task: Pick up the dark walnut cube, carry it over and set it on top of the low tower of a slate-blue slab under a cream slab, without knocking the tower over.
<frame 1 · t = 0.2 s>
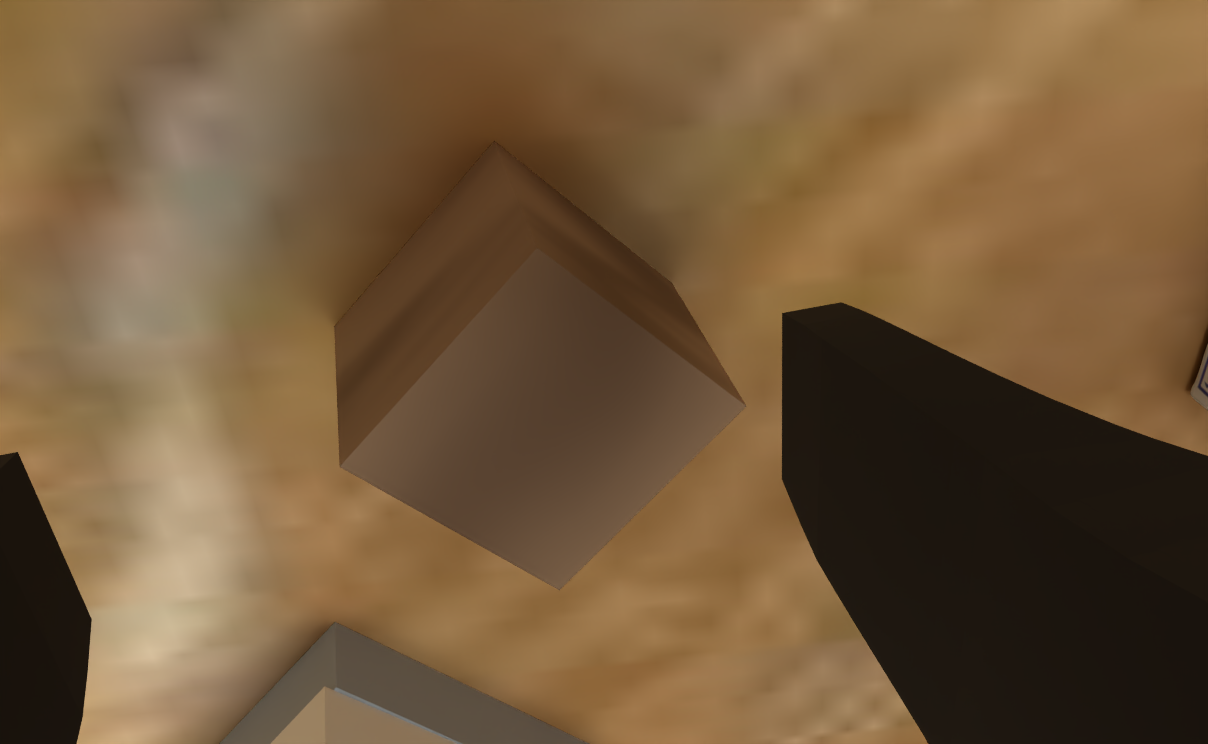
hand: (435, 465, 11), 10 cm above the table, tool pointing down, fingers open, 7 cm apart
walnut cube: (506, 302, 21), on the table
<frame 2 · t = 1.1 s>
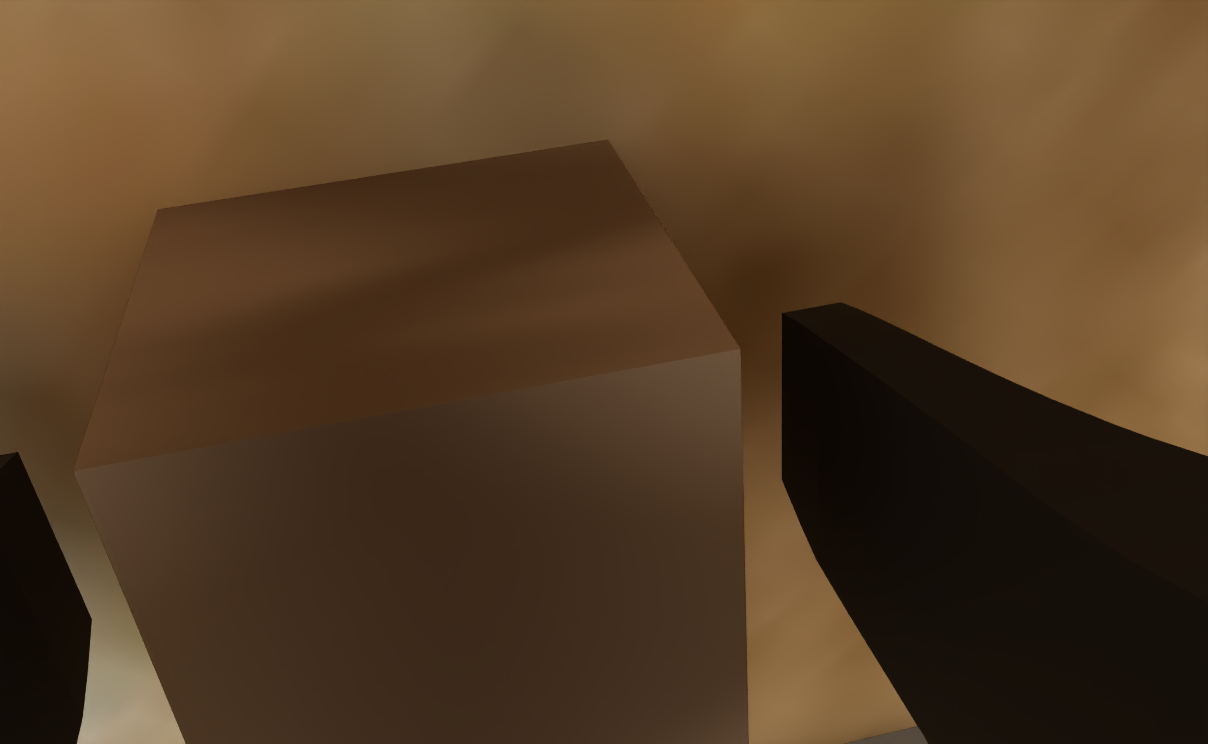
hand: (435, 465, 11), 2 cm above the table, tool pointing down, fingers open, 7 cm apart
walnut cube: (425, 360, 13), on the table
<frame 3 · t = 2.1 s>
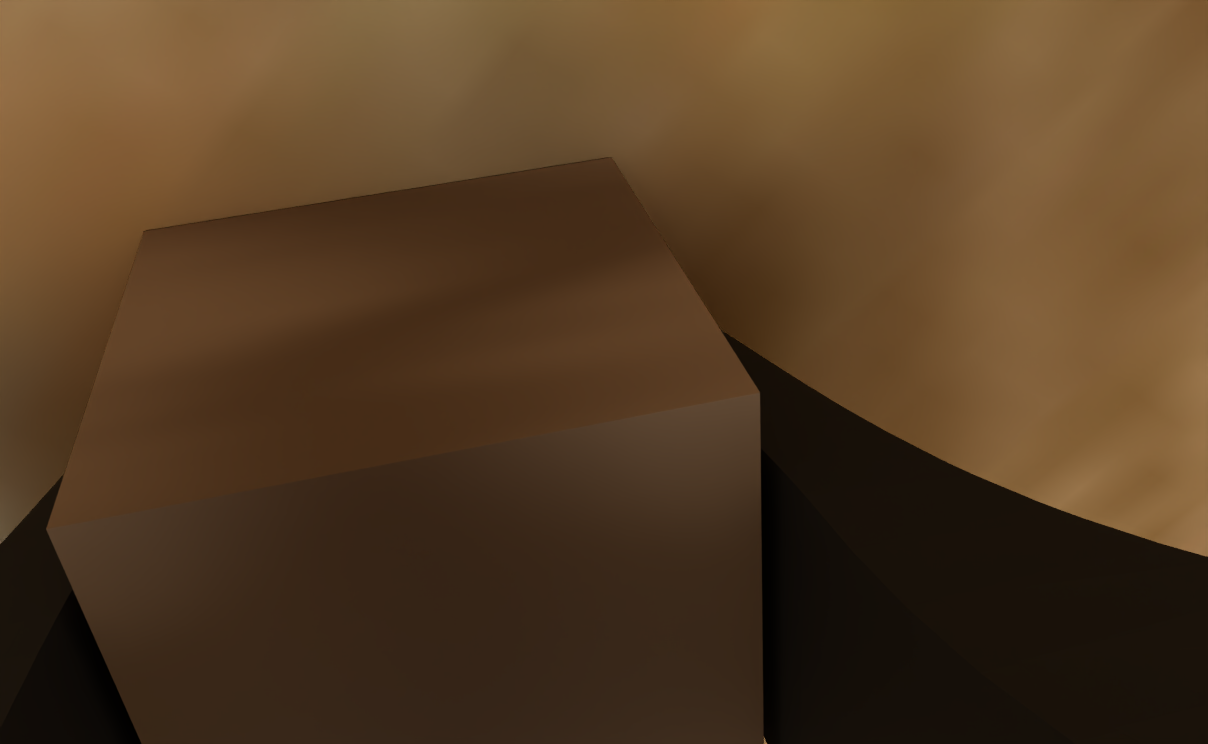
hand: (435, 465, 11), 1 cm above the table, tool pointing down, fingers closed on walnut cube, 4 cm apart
walnut cube: (423, 388, 12), on the table, touching gripper
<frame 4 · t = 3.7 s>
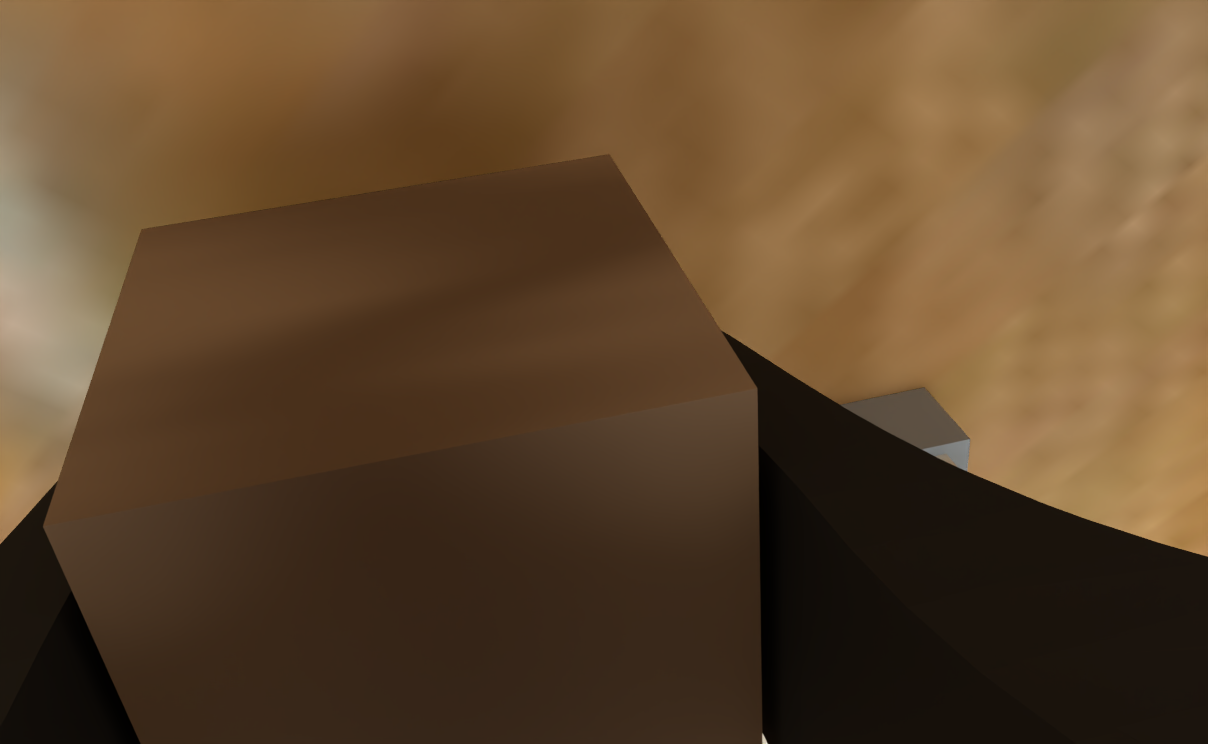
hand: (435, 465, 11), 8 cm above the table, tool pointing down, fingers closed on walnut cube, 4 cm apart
tower base block: (733, 594, 25), on the table, touching tower top block
walnut cube: (421, 386, 12), point 7 cm above the table, touching gripper
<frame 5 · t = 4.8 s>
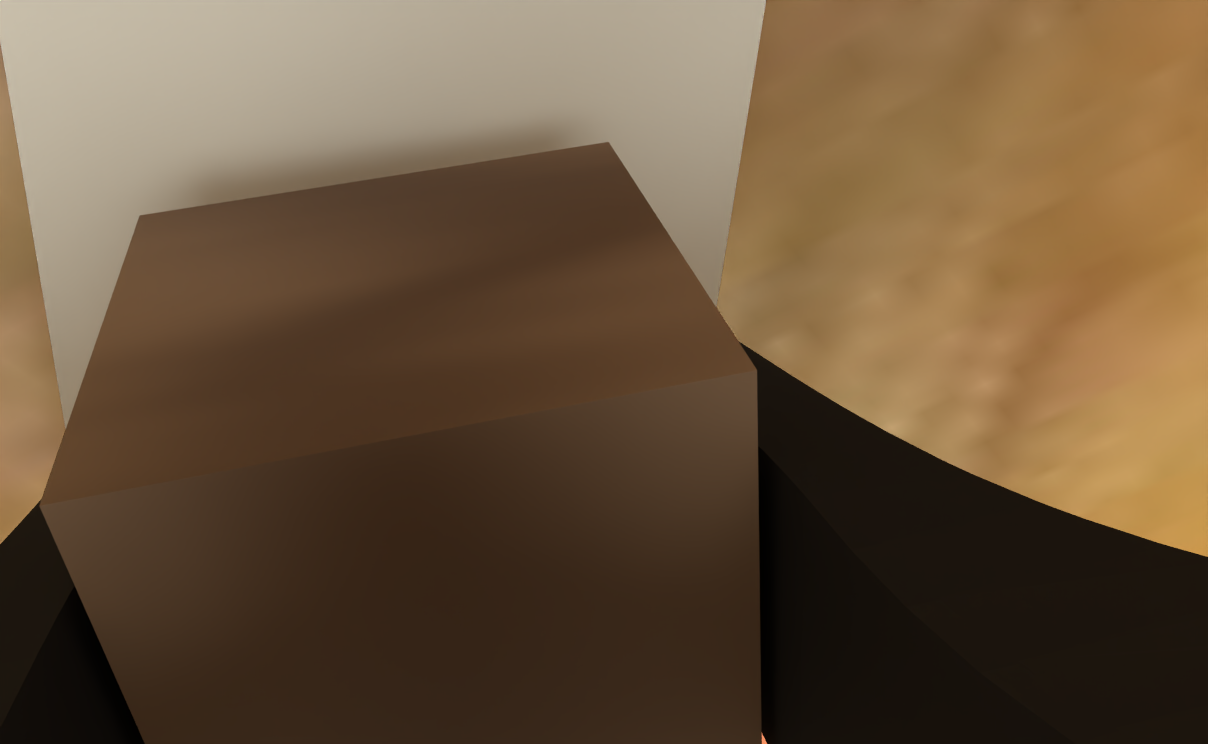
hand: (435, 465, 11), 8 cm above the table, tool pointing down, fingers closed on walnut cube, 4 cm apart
tower top block: (393, 248, 16), point 2 cm above the table, touching tower base block
walnut cube: (420, 375, 12), point 6 cm above the table, touching gripper
when the fingers open (7 cm above the table, at t = 5.7 s): walnut cube drops 2 cm, point 4 cm above the table.
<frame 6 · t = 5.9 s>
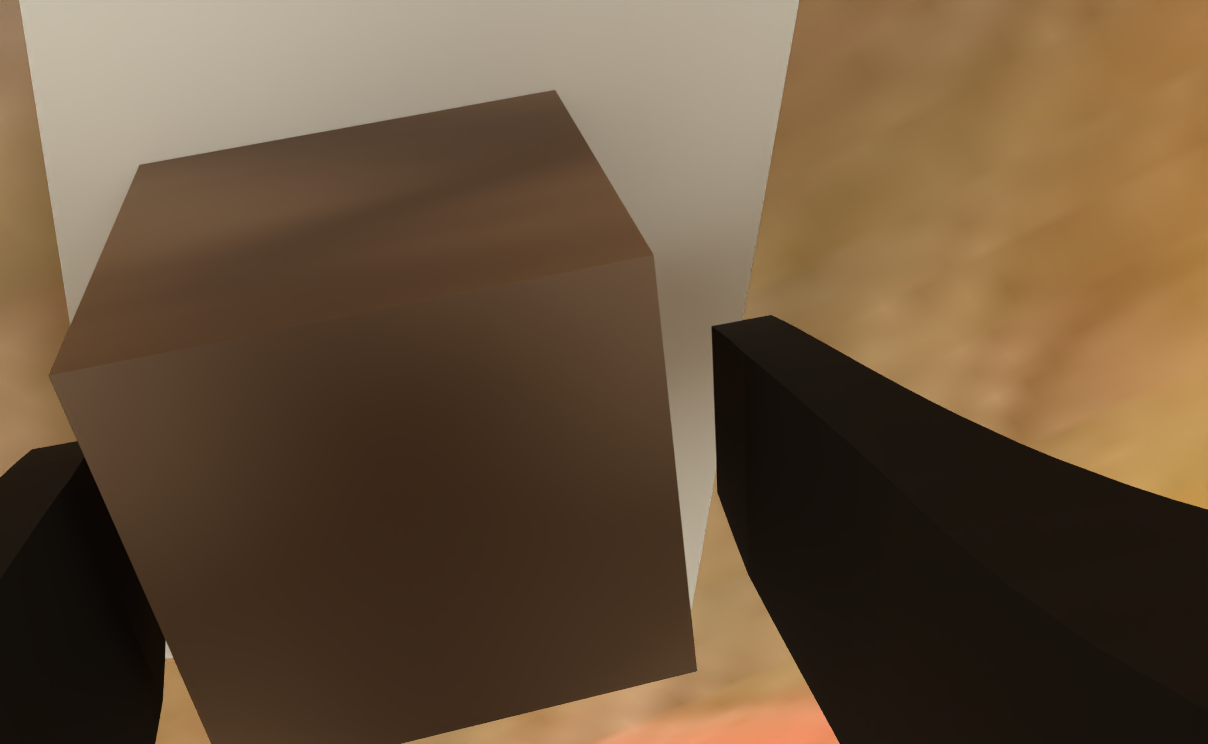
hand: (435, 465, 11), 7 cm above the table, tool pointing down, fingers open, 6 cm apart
tower top block: (415, 245, 16), point 2 cm above the table
walnut cube: (396, 308, 13), point 4 cm above the table
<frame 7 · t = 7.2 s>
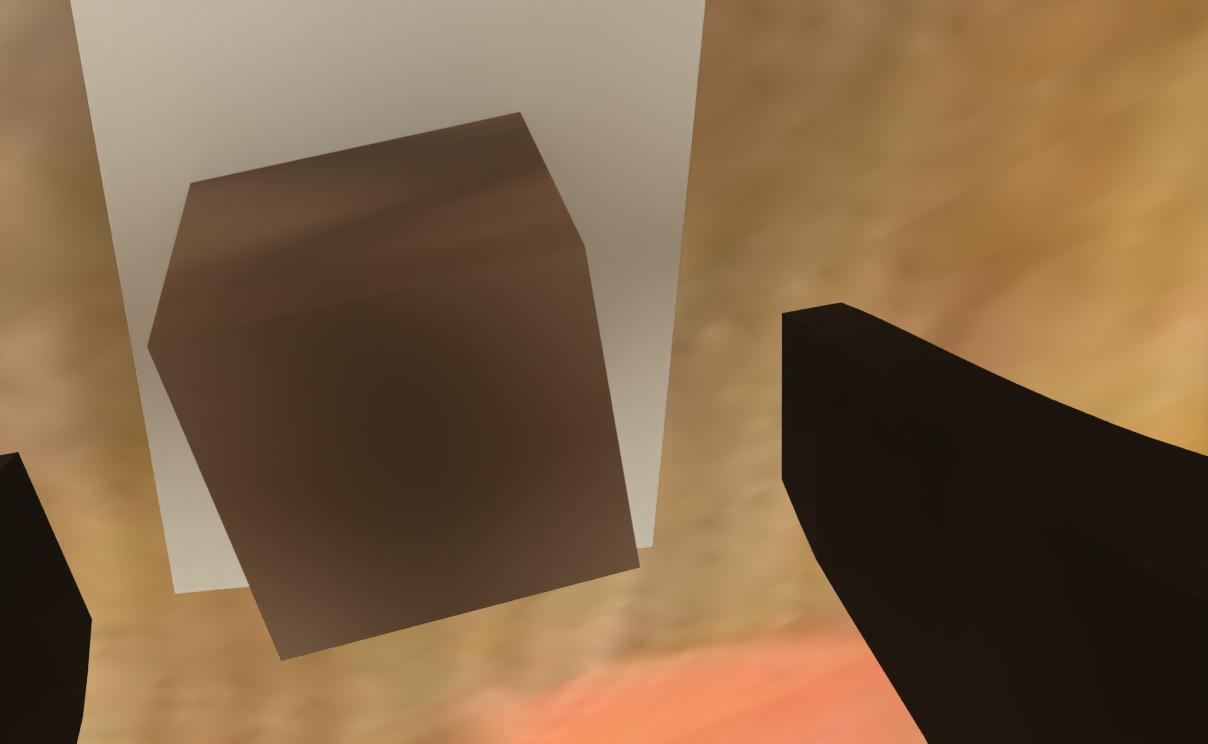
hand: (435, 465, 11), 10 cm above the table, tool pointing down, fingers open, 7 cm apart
tower top block: (404, 237, 19), point 2 cm above the table, touching tower base block, walnut cube
walnut cube: (398, 291, 16), point 4 cm above the table, touching tower top block
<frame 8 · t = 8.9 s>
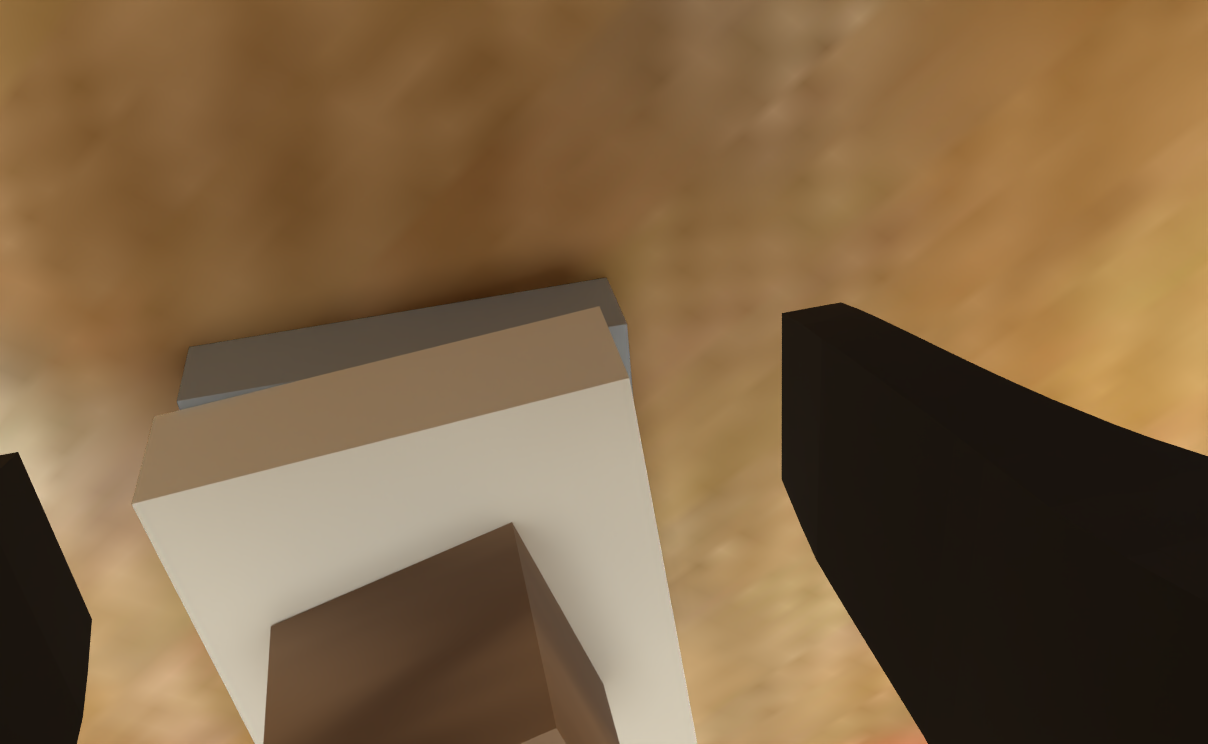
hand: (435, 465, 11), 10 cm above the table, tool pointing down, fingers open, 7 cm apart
tower top block: (448, 567, 23), point 2 cm above the table, touching tower base block, walnut cube
tower base block: (441, 496, 25), on the table, touching tower top block
walnut cube: (446, 656, 20), point 4 cm above the table, touching tower top block
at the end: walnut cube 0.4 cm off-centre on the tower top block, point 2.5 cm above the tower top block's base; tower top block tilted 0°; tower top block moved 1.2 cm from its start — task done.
